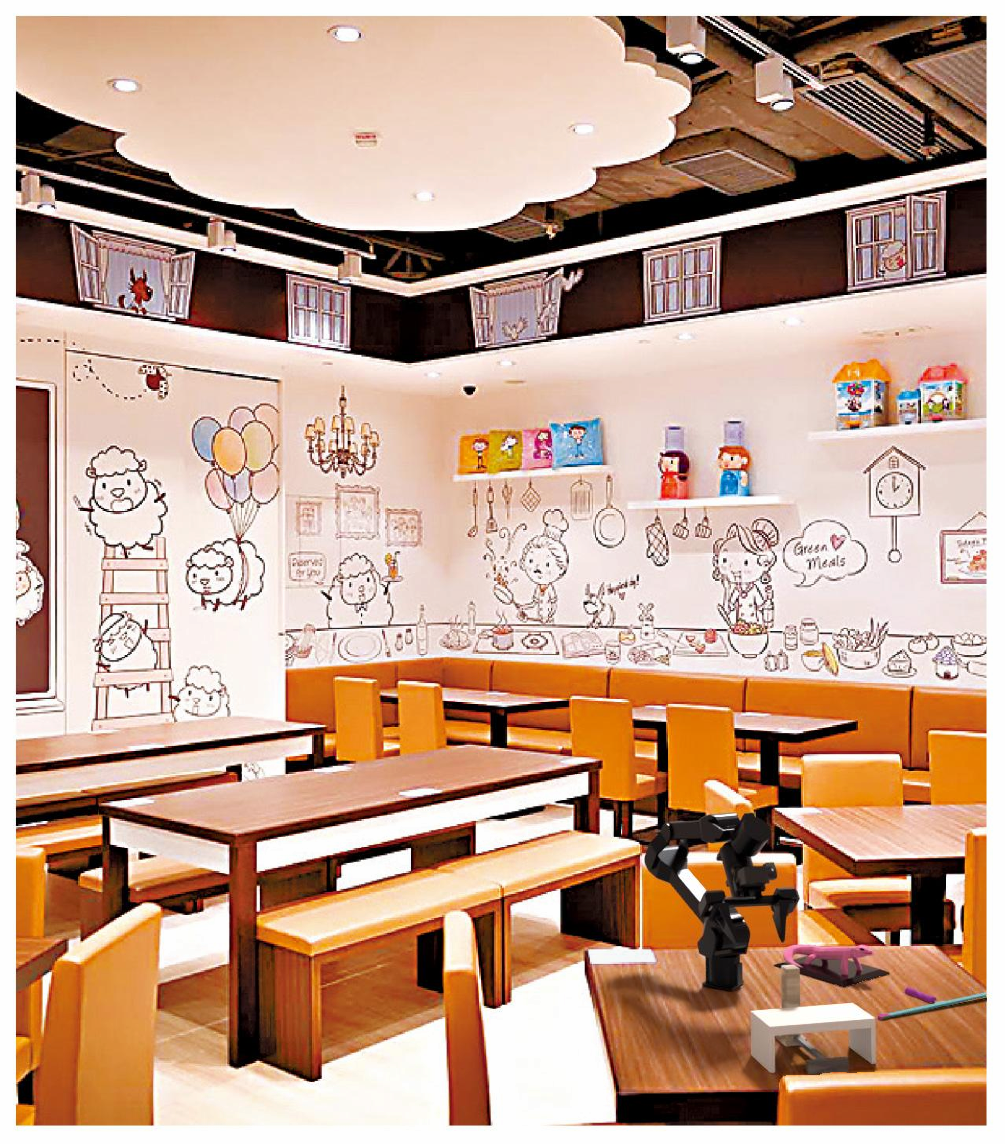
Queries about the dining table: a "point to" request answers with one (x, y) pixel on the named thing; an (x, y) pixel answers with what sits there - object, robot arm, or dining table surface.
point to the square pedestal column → (813, 1066)
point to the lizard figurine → (832, 963)
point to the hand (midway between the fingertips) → (760, 942)
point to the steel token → (832, 1070)
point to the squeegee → (928, 999)
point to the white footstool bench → (811, 1028)
